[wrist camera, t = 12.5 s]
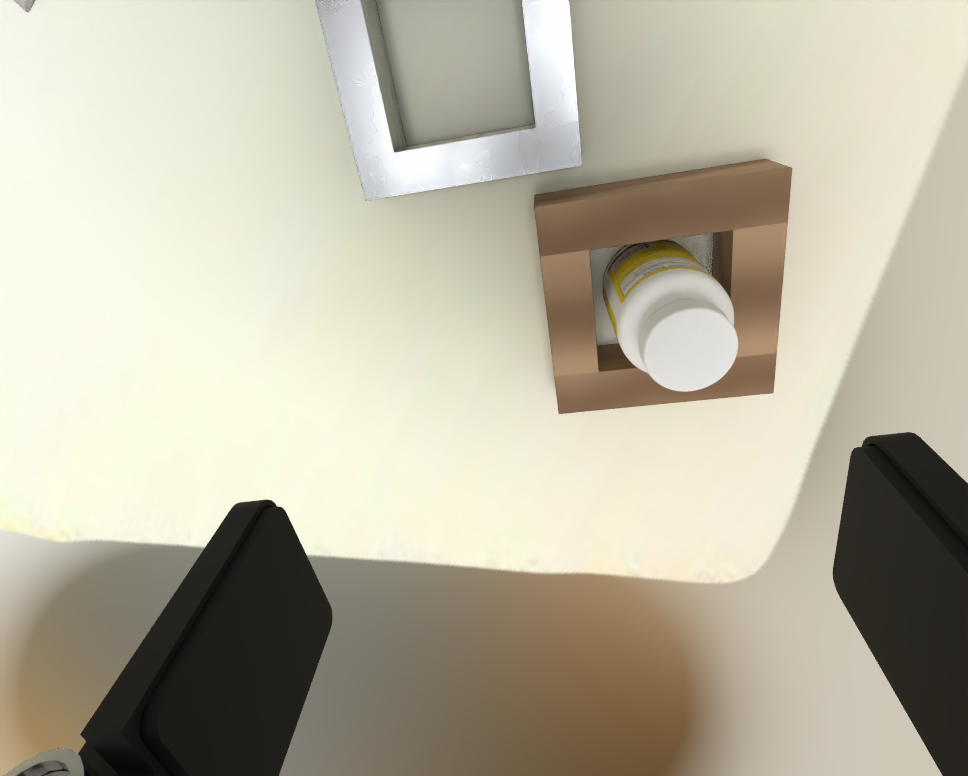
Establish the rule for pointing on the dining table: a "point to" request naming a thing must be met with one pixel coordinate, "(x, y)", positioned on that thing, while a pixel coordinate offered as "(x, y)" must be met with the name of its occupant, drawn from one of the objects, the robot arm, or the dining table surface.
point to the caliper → (25, 4)
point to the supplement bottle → (670, 315)
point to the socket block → (457, 160)
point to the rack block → (657, 216)
